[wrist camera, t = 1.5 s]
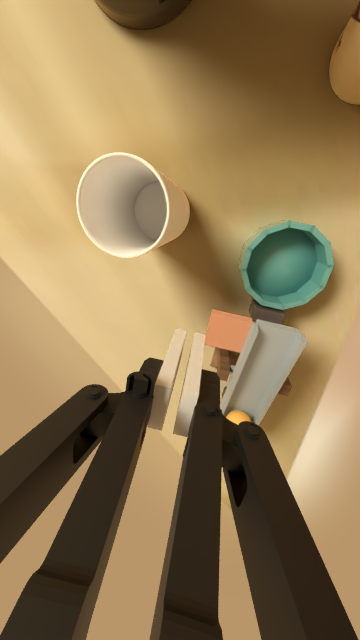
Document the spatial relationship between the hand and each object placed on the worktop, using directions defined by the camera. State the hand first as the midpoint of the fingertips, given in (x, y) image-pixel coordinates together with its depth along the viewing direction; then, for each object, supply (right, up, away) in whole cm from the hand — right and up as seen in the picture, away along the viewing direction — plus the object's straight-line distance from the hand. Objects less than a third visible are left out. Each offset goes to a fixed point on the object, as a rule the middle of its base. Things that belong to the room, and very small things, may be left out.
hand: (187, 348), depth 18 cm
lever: (+8, -5, +19) cm, 22 cm away
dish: (+14, +10, +18) cm, 25 cm away
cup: (-3, +18, +18) cm, 25 cm away
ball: (+8, -14, +20) cm, 26 cm away
